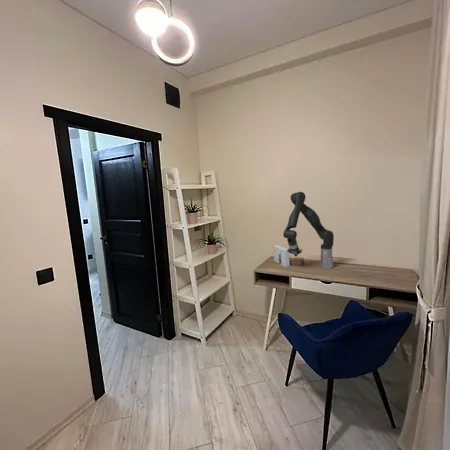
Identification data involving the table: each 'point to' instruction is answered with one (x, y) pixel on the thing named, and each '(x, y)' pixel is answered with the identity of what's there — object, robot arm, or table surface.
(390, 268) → the table surface
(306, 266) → the table surface
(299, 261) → the walnut block
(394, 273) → the table surface
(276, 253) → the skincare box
